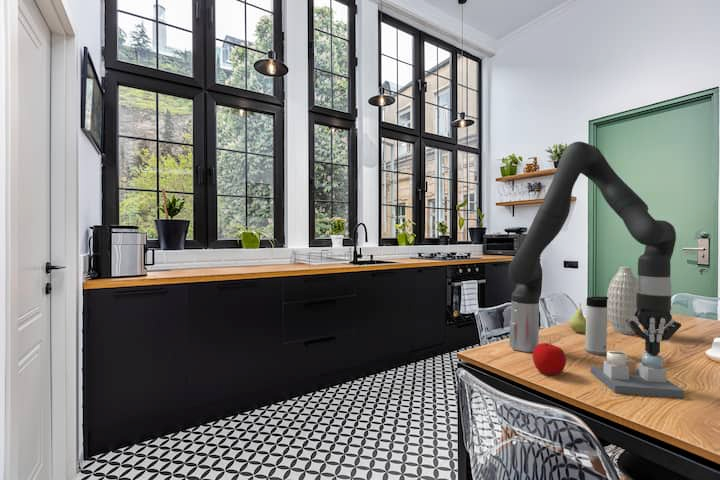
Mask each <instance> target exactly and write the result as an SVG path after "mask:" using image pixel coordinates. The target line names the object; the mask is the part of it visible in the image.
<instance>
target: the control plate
mask: <svg viewBox="0 0 720 480" xmlns="http://www.w3.org/2000/svg"><path fill="white" fill-rule="evenodd" d="M590 374H592V376H594V377H595V378H597V379H598V380H599V381H600V382H601V383H602V384H603V385H605V386H606V387H607V388H608V389H610V390H611V391H612V392H613V393H615V394H624V395H635V396H636V395H637V396H647V397H648V396H650V397H664V398H675V399H676V398H677V399H678V398H679V399H685V390H684V389H682V388H681V387H679V386H678V385H676V384H675V383H673V382H671V381H669V380H668V379H667V369H666V368H664V367H663V366H662V369H653V368H648V367H645V366H643V365H642V362H638V369H637V368H636V374H630V373H629V367H628V366H625V367H618V366H613V365H610V364H608V363H607V360H603V366H592V365H591V366H590Z"/></svg>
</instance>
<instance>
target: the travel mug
mask: <svg viewBox="0 0 720 480" xmlns="http://www.w3.org/2000/svg"><path fill="white" fill-rule="evenodd" d="M607 299H608V297H607V295H606V296H605V295H604V296H589V297H586V305H585V306H586V307H585V320H586V331H585V352H586V353H587V354H590V355H595V356H607V351H608V350H607V347H608V346H607V344H608V338H607V337H608V314H607Z"/></svg>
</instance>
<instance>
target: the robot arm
mask: <svg viewBox="0 0 720 480" xmlns="http://www.w3.org/2000/svg"><path fill="white" fill-rule="evenodd" d="M581 174H582V175H583V176H585V177H586V178H588V179H589V180H590V181H592V182H593V183H594V184H595V186H596V187H597V188H598V190H599V191H600V193H601V195H602V196H603V198H604V200H605V202H606V204H607V205H608V206H609V207H610V209H611V210H612V211H614V213H615V214H616V215H617V216H618V217H619V218H620V219H622V221H623V223H624V226H625V227H626V229H627V231H628V233H629V234H630V236H631V237H632V238H633V239H634V240H635V241H637V243H639V244H641V245H643V246H645V247H644V253H643V254H642V255H640V256H639V257H638V260H637V277H636V278H637V284H636V308H637V311H636V313H635V317H633V318H632V319H627V320H626V323H627V324H628V325H629V326H630V327H631V329H632V330H633V331H634V333H635V334H636V336H637V337H638V338H641V339H642V340H644V342H645V343H644V344H645V346H644V347H645V348H644V350H645V353H648V354H650V355H655V356H657V355H659V354H660V352H661V342H663V341H669V340H670V339H671V337H673V336H674V335H675V334H676V332H677V331H678V330H679V329H680V328H681V327H682V324H681V323H680V322H678V321H676V320H674V319H673V316H672V313H671V310H672V279H671V272H672V271H671V266H672V265H671V260H672V257H673V254H674V249H675V246H676V241H677V233H676V229H675V227H674V226H673V224H671V222H669V221H666V220H663V219H662V220H658V219H655V218H654V217H653V216H652V215H651V214H650V213H649V206H648V204H647V203H646V202H645V201H644V200H643V199H642V198H641V197H640V196H639V194H637V193H636V192H635V191H634V190H633V189H632V188H631V187H630V186H629V185H628V184H627V183H626V182H625V181H624V180H623V179H622V178H621V177H620V176H619V175H618V174H617V173H616V171H615V170H614V169H613V168H612V167H611V165H610V164H609V162H608V161H607V159H606V158H605V156H604V155H603V152H602V151H601V150H600V149H599V147H596V146H595V145H592V144H590V143H588V142H584V141H575V142H573V143H571V144H569V145H568V146H566V148H565V149H564V150H563V152H562V155H561V157H560V159H559V162H558V165H557V167H556V170H555V173H554V176H553V178H552V181H551V183H550V185H549V187H548V190H547V192H546V193H545V196H544V197H543V200H542V202H541V204H540V206H539V207H538V210H537V212H536V213H535V216H534V218H533V220H532V223H531V225H530V227H529V228H528V230H527V232H526V235H525V238H524V239H523V242H522V243H521V246H520V247H519V249H518V250H517V252H516V253H515V255H514V257H513V258H512V260H511V262H510V263H509V266H508V269H507V274H508V277H509V279H510V280H511V281H512V283H513V282H514V283H515V284H516V285H515V289H514V291H513V292H512V293H511V309H510V311H511V313H510V315H511V317H510V318H511V319H510V320H509V346H510V348H511V349H512V350H513V351H520V352H525V353H533V351H534V349H535V347H536V346H537V345H539V344H540V343H539V342H540V341H539V339H540V335H539V333H540V329H539V328H540V325H539V324H540V297H541V296H542V291H543V289H542V288H543V267H542V264H541V263H540V262H539V260H540V258H541V255H542V253H543V252H544V250H545V249H546V248H547V247H548V246H549V245H550V244H551V242H553V240H554V239H556V237H557V236H558V235H559V233H560V232H561V230H562V229H563V227H564V225H565V223H566V221H567V219H568V217H569V214H570V211H571V205H572V204H571V203H572V192H573V189H574V186H575V184H576V182H577V180H578V178H579V176H580V175H581ZM638 321H639V323H640V324H639V323H638ZM638 325H639V326H638ZM640 325H641V327H642V329H641V328H640Z"/></svg>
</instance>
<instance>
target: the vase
mask: <svg viewBox="0 0 720 480" xmlns="http://www.w3.org/2000/svg"><path fill="white" fill-rule="evenodd" d="M637 278H638V277H636V276H635V274H634V272H633V271H632V268H631V267H629V266H619V268H618V271H617V272H616V274H615V275H614V276H613V277H612V279H611V281H610V282H609V285H608V288H607V291H606V297H608V299H607V318H608V321H609V322H610V325H611V326H612V328H613V331H614V332H615V333H618V334H621V335H633V334H634V333H635V332H634V331H633V330H632V329H631V327H630V326H629V325H628V324H627V323H626V320H627V319H632V318H633V317H635V313H636V311H637V308H636V284H637ZM638 323H639V321H638ZM640 325H641V324H640V323H639V325H638V326H639V327H640Z"/></svg>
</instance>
